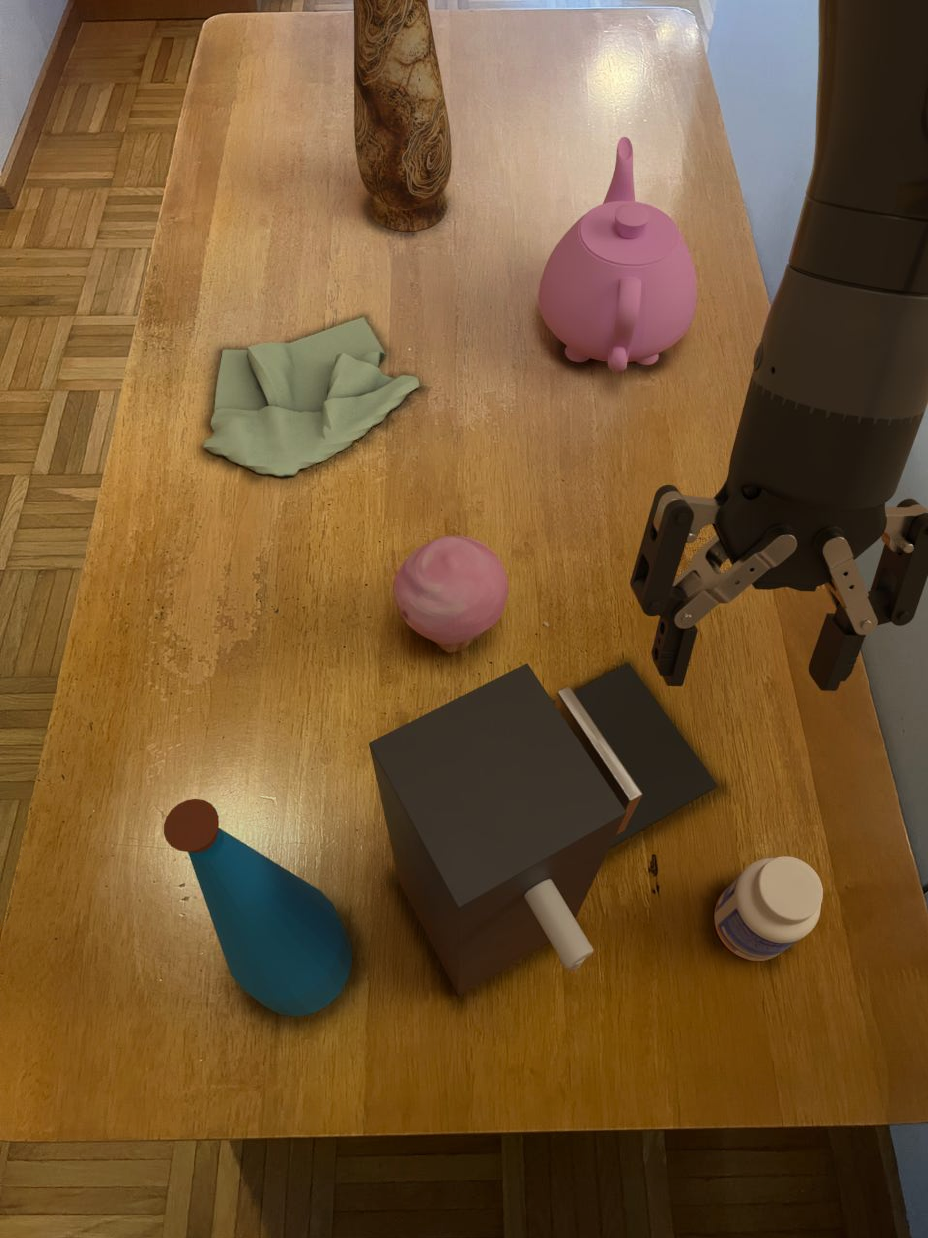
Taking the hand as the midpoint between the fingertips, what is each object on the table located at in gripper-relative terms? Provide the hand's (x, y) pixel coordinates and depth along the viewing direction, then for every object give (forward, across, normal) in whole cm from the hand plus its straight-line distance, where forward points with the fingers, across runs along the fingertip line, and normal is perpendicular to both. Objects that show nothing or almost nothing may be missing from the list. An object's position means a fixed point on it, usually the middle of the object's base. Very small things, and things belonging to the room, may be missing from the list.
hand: (746, 680), depth 50 cm
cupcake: (+14, -12, +27) cm, 33 cm away
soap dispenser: (+26, -10, +5) cm, 28 cm away
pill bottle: (+24, +8, +4) cm, 25 cm away
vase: (-12, -16, +76) cm, 78 cm away
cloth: (+3, -25, +52) cm, 57 cm away
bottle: (+28, -24, +5) cm, 37 cm away
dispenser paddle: (+8, -7, +1) cm, 11 cm away
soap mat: (+18, -1, +16) cm, 24 cm away
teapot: (-5, +5, +58) cm, 58 cm away
